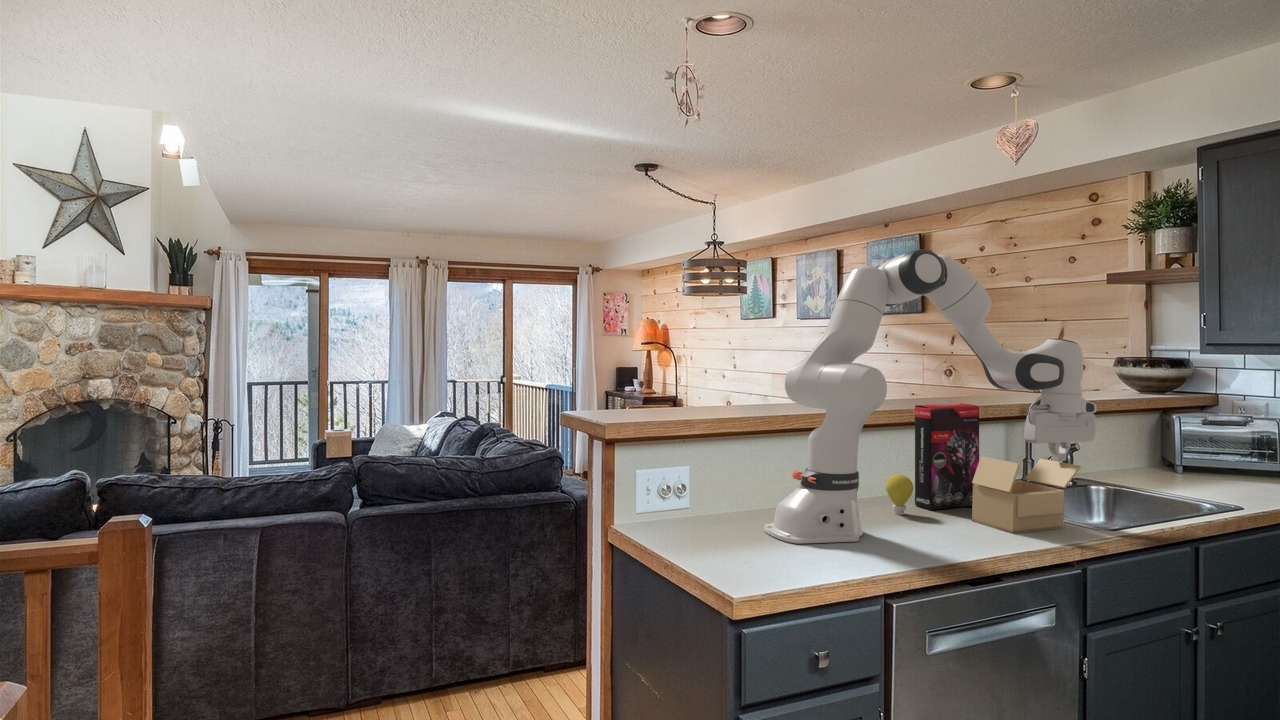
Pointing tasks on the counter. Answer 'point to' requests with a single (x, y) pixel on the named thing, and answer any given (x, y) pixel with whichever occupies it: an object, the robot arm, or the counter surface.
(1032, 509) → the carton
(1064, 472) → the flap far
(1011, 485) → the flap near
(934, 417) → the graphics card box
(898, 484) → the light bulb
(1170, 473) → the counter surface
